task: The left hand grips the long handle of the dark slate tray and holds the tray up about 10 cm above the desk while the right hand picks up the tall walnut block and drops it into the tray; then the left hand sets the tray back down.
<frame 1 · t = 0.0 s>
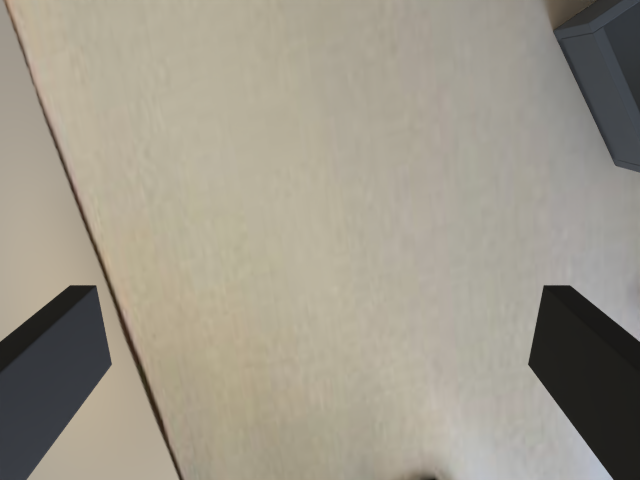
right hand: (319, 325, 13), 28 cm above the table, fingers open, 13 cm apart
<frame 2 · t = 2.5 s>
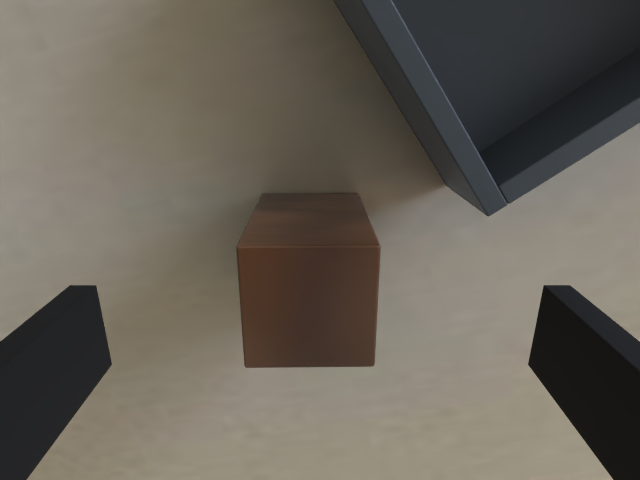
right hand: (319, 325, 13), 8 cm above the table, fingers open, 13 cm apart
walnut block: (310, 238, 21), on the table
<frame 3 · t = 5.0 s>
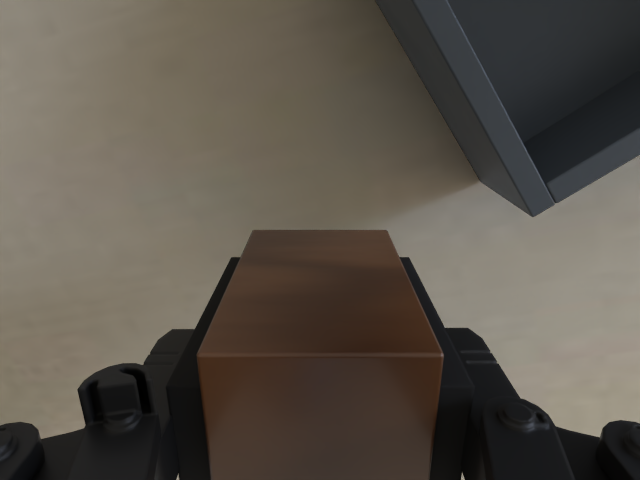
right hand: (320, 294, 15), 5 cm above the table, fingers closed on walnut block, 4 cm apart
walnut block: (319, 290, 15), point 5 cm above the table, touching right hand
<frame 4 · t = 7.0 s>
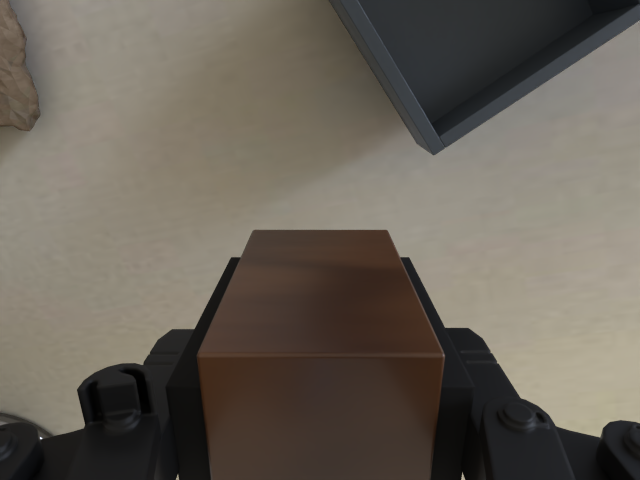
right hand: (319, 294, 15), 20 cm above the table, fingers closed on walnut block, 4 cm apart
walnut block: (320, 290, 15), point 19 cm above the table, touching right hand
when the right hand's fingers open (17 cm above the table, at t = 10.6 s): walnut block drops 7 cm, resting on slate tray.
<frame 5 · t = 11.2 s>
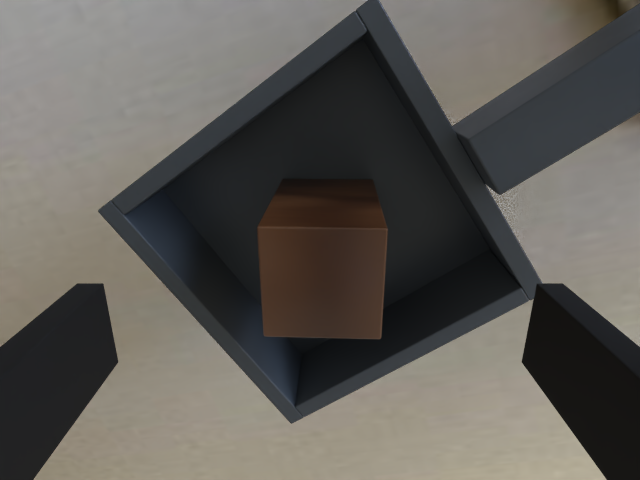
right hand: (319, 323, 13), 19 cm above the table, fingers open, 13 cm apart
walnut block: (327, 221, 22), point 9 cm above the table, touching slate tray
slate tray: (328, 214, 23), point 8 cm above the table, touching left hand, walnut block
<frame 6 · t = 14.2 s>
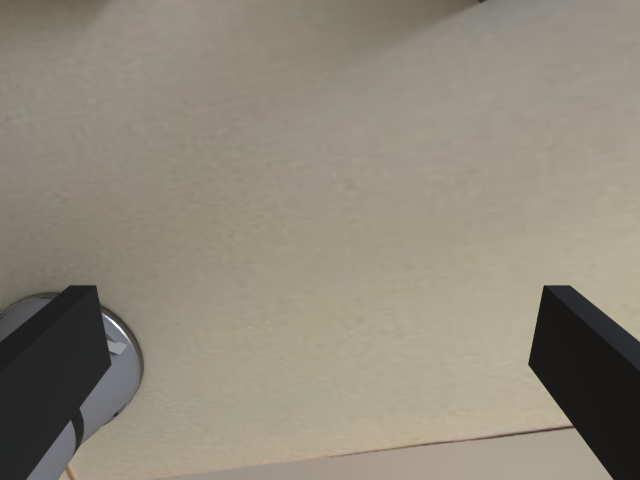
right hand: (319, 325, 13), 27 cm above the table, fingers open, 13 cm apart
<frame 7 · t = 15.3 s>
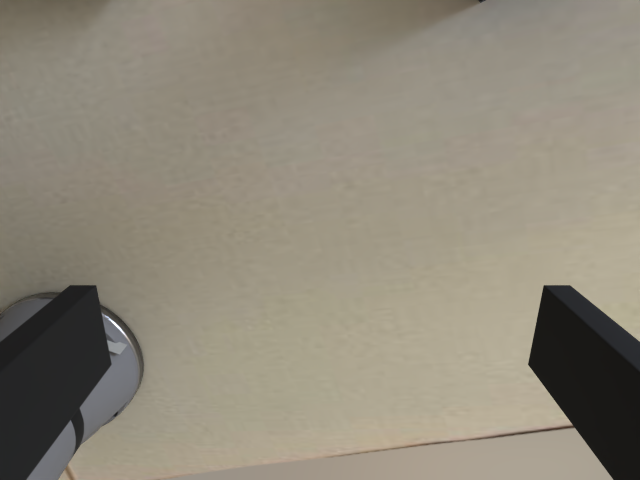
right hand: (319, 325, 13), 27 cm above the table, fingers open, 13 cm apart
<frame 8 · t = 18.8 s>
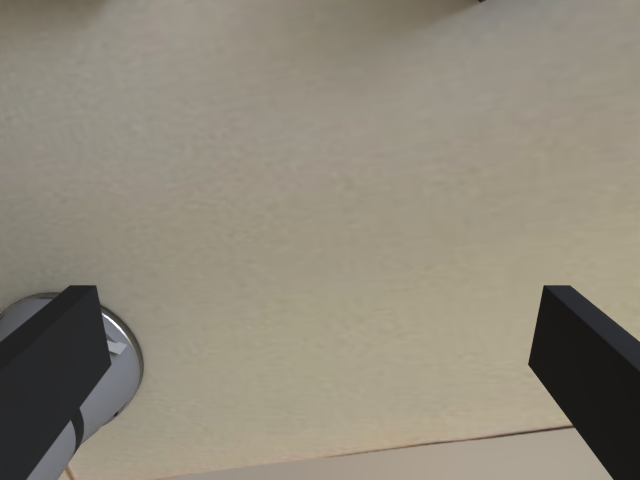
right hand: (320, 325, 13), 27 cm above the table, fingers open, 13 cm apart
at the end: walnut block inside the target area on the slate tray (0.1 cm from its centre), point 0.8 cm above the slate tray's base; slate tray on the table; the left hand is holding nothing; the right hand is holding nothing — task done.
